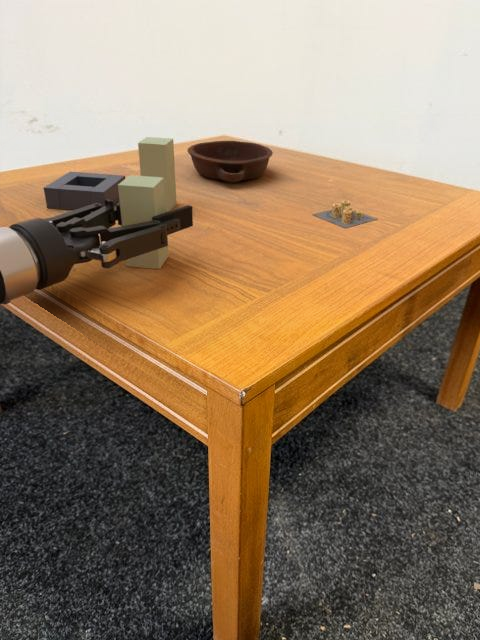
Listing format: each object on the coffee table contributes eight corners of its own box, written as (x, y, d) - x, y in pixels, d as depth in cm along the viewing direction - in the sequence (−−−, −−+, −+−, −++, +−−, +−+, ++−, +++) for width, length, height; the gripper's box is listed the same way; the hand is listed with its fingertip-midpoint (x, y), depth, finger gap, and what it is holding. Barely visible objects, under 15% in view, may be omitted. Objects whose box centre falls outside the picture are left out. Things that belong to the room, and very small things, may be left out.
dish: (184, 188, 105) (183, 161, 102) (191, 159, 124) (190, 136, 121) (275, 190, 106) (276, 163, 104) (268, 161, 125) (269, 138, 122)
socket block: (47, 208, 93) (43, 187, 91) (72, 190, 102) (69, 171, 100) (106, 212, 92) (103, 192, 90) (127, 194, 101) (125, 175, 99)
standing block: (143, 209, 94) (137, 142, 88) (151, 201, 98) (146, 136, 92) (169, 211, 93) (165, 144, 88) (176, 203, 97) (173, 138, 91)
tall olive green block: (126, 266, 74) (117, 184, 68) (137, 253, 78) (129, 175, 72) (159, 269, 74) (153, 187, 68) (168, 256, 78) (164, 177, 72)
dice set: (346, 224, 91) (347, 213, 90) (324, 215, 94) (325, 204, 93) (366, 218, 94) (368, 207, 93) (345, 210, 97) (346, 199, 96)
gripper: (-18, 266, 67) (128, 220, 83) (81, 317, 58) (224, 253, 73) (-33, 206, 63) (123, 169, 79) (70, 250, 54) (224, 197, 69)
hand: (172, 209), depth 76 cm, fingers closed on tall olive green block, 6 cm apart
